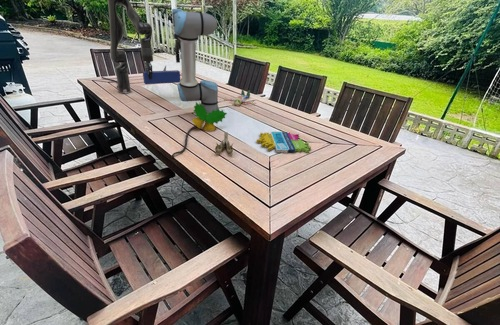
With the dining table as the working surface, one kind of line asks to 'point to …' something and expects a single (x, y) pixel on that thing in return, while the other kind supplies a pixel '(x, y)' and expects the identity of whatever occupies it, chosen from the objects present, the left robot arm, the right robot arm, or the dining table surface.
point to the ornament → (207, 117)
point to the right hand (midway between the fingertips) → (180, 64)
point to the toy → (241, 99)
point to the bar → (162, 77)
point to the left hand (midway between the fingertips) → (149, 78)
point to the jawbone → (224, 145)
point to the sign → (283, 142)
